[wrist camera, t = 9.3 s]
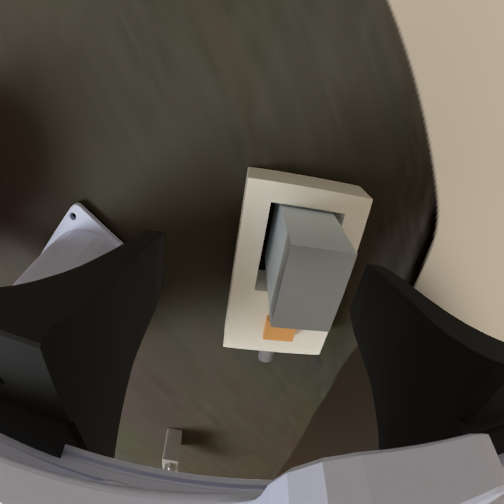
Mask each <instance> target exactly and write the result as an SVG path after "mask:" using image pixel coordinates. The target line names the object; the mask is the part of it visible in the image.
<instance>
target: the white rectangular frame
mask: <svg viewBox="0 0 504 504" xmlns="http://www.w3.org/2000/svg"><path fill="white" fill-rule="evenodd" d="M372 201H373V199H372V198H371V197H370V196H369V195H368V194H367V193H366V192H365V191H364V190H363V189H362V188H361V187H360V186H357V185H352V184H347V183H342V182H337V181H332V180H327V179H321V178H316V177H311V176H305V175H299V174H293V173H287V172H281V171H275V170H269V169H262V168H255V167H248V170H247V177H246V183H245V190H244V196H243V203H242V209H241V216H240V223H239V229H238V236H237V243H236V250H235V257H234V263H233V270H232V277H231V284H230V291H229V299H228V306H227V313H226V320H225V330H224V342H223V347H230V348H239V349H249V350H259V353H258V358H259V360H260V361H262V362H270V361H272V359H273V356H274V352H283V353H297V354H313V355H319V354H320V351H321V349H322V346H323V344H324V341H325V339H326V336H327V334H328V332H324V331H311V330H299V329H288V328H277V327H271V326H270V314H269V302H268V290H267V278H266V270H259V269H258V268H259V263H260V258H261V253H262V247H263V242H264V237H265V231H266V226H267V221H268V215H269V210H270V205H271V202H274V203H280V204H287V205H293V206H300V207H306V208H312V209H318V210H324V211H330V212H333V214H334V216H335V217H336V219H337V220H338V222H339V224H340V225H341V227H342V229H343V230H344V232H345V234H346V235H347V237H348V239H349V240H350V242H351V244H352V245H353V247H354V249H355V250H356V252H357V250H358V247H359V244H360V241H361V238H362V235H363V231H364V228H365V225H366V222H367V218H368V215H369V212H370V208H371V205H372Z"/></svg>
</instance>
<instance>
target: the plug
mask: <svg viewBox="0 0 504 504" xmlns="http://www.w3.org/2000/svg"><path fill="white" fill-rule="evenodd" d="M357 255H358V254H357V252H356V250H355V249H354V247H353V245H352V244H351V242H350V240H349V239H348V237H347V235H346V234H345V232H344V230H343V229H342V227H341V225H340V224H339V222H338V220H337V219H336V217H335V216H334V214H333V212H330V211H324V210H318V209H312V208H306V207H300V206H293V205H287V204H280V203H275V207H274V212H273V217H272V222H271V227H270V232H269V237H268V242H267V247H266V252H265V266H266V278H267V290H268V302H269V314H270V326H271V327H277V328H288V329H299V330H311V331H324V332H329V331H330V328H331V326H332V323H333V321H334V318H335V315H336V313H337V310H338V308H339V305H340V302H341V300H342V297H343V294H344V292H345V289H346V286H347V283H348V280H349V278H350V275H351V272H352V269H353V266H354V263H355V260H356V257H357Z"/></svg>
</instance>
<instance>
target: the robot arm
mask: <svg viewBox="0 0 504 504" xmlns="http://www.w3.org/2000/svg"><path fill="white" fill-rule="evenodd" d="M72 213H74V214H75V215H76V218H75V217H73V215H72ZM164 238H165V233H163V232H156V231H149V230H147V231H145V232H143V233H141V234H139V235H137V236H136V237H134V238H132V239H130V240H129V241H127V242H125V243H123V242H122V241H121V240H120V239H119V238H117V237H116V236H115V235H114V234H113V233H112V232H111V231H110V230H109V229H108V228H107V227H105V226H104V225H103V224H102V223H101V222H100V221H99V220H98V219H97V218H96V217H95V216H94V215H93V214H92V213H91V212H89V211H88V210H87V209H86V208H85V207H84V206H83V205H82V204H81V203H75V204H74V205H72V206H71V208H70V209H69V211H68V212H67V214H66V215H65V217H64V218H63V220H62V221H61V223H60V224H59V226H58V227H57V229H56V230H55V232H54V234H53V235H52V237H51V238H50V240H49V242H48V243H47V245H46V246H45V248H44V250H43V251H42V253H41V255H40V256H39V257H38V258H37V259H36V260H35V261H34V262H33V263H32V264H31V265H30V266H29V267H28V269H27V270H26V271H25V272H24V273H23V274H22V275H21V276H20V277H19V278H18V279H17V280H16V282H15V283H14V284H13V285H12V286H7V287H0V504H504V342H502V341H500V340H497V339H495V338H493V337H491V336H488V335H486V334H484V333H482V332H480V331H478V330H477V329H475V328H473V327H471V326H469V325H467V324H465V323H464V322H462V321H460V320H459V319H457V318H456V317H454V316H452V315H451V314H449V313H448V312H446V311H445V310H443V309H442V308H440V307H439V306H438V305H436V304H435V303H433V302H432V301H431V300H429V299H428V298H427V297H425V296H424V295H422V294H421V293H420V292H418V291H417V290H416V289H415V288H413V287H412V286H411V285H409V284H408V283H407V282H405V281H404V280H403V279H401V278H400V277H399V276H397V275H396V274H394V273H393V272H391V271H390V270H388V269H386V268H385V267H383V266H379V265H372V264H367V266H366V268H365V271H364V273H363V276H362V279H361V281H360V284H359V286H358V289H357V291H356V294H355V296H354V298H353V301H352V303H351V306H350V308H349V309H350V315H351V321H352V326H353V331H354V334H355V337H356V340H357V343H358V346H359V349H360V352H361V355H362V358H363V361H364V364H365V367H366V370H367V373H368V376H369V380H370V383H371V387H372V392H373V398H374V403H375V409H376V417H377V425H378V436H379V450H376V451H368V452H356V453H351V454H345V455H339V456H333V457H326V458H321V459H319V460H315V461H313V462H309V463H306V464H303V465H300V466H297V467H293V468H291V469H289V470H288V471H286V472H285V473H283V474H282V475H280V476H279V477H277V478H276V479H274V480H260V479H240V478H226V477H215V476H206V475H198V474H190V473H183V472H177V471H171V470H165V469H159V468H154V467H149V466H144V465H139V464H135V463H130V462H126V461H122V460H118V459H114V455H115V448H116V441H117V434H118V429H119V423H120V418H121V412H122V407H123V403H124V398H125V394H126V389H127V385H128V381H129V377H130V373H131V369H132V366H133V363H134V360H135V357H136V354H137V351H138V349H139V346H140V344H141V342H142V339H143V337H144V334H145V332H146V330H147V327H148V325H149V322H150V320H151V318H152V315H153V313H154V310H155V308H156V305H157V302H158V298H159V294H160V291H161V287H162V283H163V258H164Z"/></svg>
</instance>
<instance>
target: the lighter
mask: <svg viewBox="0 0 504 504" xmlns="http://www.w3.org/2000/svg"><path fill="white" fill-rule="evenodd" d="M181 440H182V431H181V430H177V429H172V428H168V429H167V435H166V440H165V446H164V452H163V458H162V467H163V469H165V470H171V471H178V463H179V456H180V449H181Z"/></svg>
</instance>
